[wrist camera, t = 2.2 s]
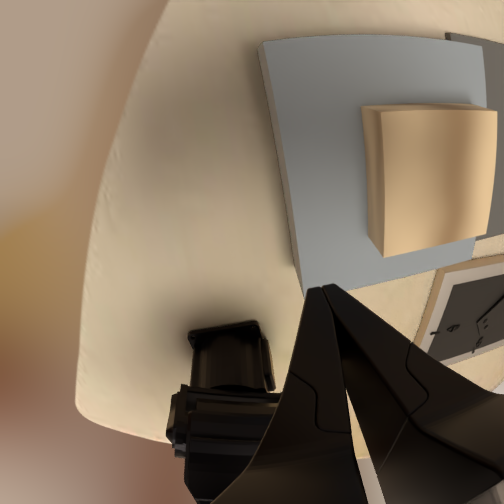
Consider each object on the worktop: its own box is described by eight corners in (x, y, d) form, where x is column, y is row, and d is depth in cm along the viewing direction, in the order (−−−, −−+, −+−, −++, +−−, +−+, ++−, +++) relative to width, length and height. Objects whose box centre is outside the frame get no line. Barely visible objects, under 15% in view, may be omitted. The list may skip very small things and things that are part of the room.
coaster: (367, 236, 19) (383, 257, 17) (360, 106, 14) (380, 112, 12) (465, 216, 18) (485, 233, 16) (471, 103, 14) (497, 111, 12)
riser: (294, 266, 24) (304, 299, 21) (256, 49, 16) (262, 41, 13) (446, 234, 24) (471, 259, 20) (447, 45, 15) (481, 46, 12)
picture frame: (547, 242, 26) (434, 260, 26) (560, 253, 24) (449, 277, 24) (508, 331, 34) (400, 365, 34) (517, 343, 32) (408, 382, 32)
